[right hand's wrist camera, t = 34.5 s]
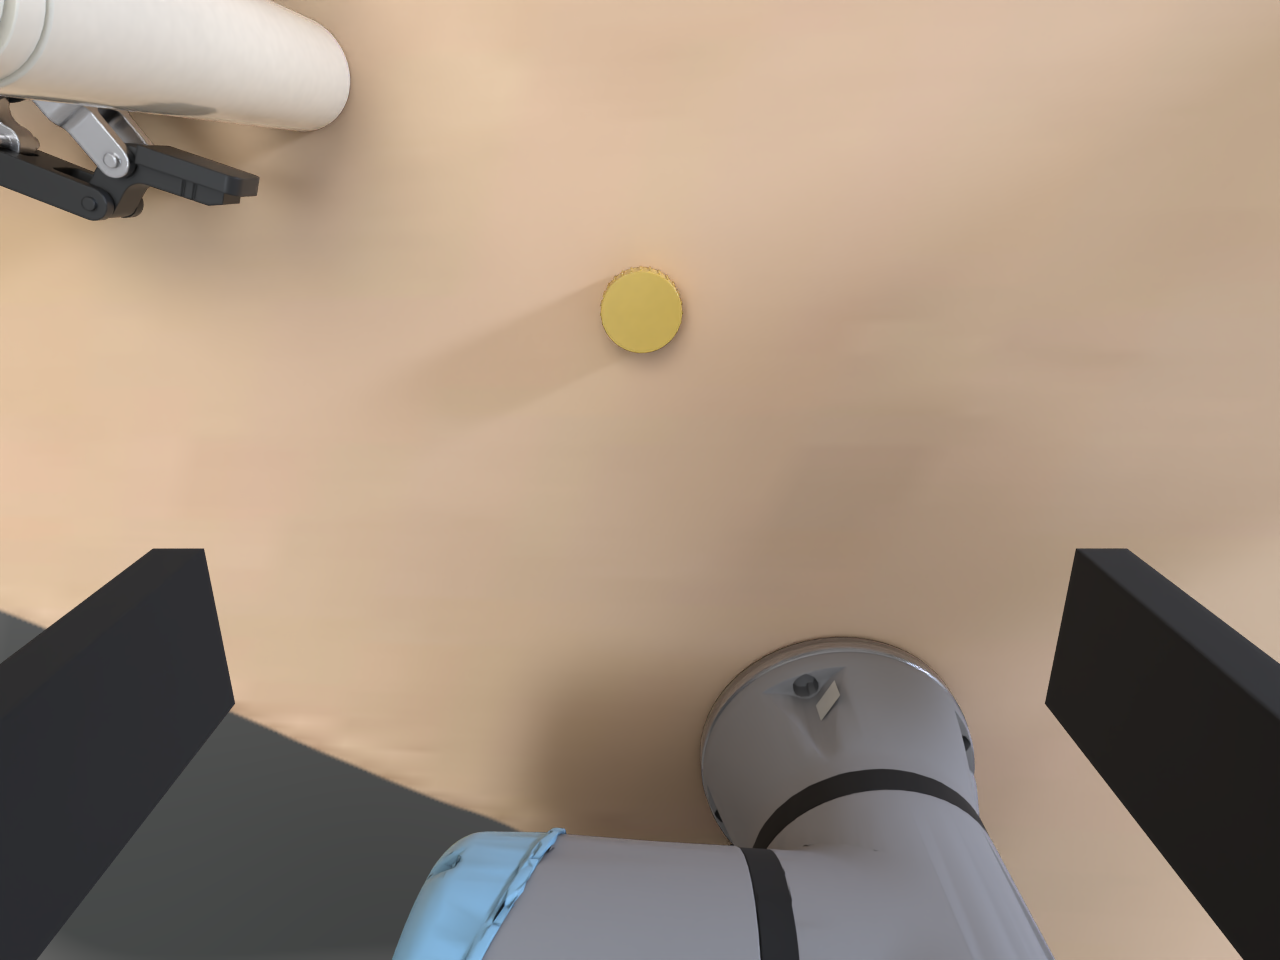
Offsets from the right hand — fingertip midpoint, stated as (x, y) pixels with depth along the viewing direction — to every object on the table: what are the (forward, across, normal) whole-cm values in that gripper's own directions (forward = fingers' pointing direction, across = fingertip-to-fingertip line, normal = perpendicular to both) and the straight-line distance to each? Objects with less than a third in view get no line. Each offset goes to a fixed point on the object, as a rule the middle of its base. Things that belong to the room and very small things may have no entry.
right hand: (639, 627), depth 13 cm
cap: (+27, 0, -1) cm, 27 cm away
